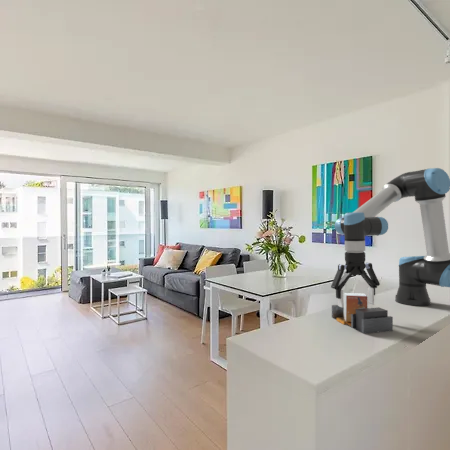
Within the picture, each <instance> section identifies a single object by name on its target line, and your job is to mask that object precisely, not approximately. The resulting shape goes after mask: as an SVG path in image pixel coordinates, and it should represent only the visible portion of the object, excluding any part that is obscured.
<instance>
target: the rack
mask: <svg viewBox="0 0 450 450" xmlns="http://www.w3.org/2000/svg"><path fill="white" fill-rule="evenodd" d="M331 318H332V319H334V320H336V321H337V322H338V323H341V324H342V325H346V326H348V327H349V328H352V329H354V330H355V331H357V332H360V333H361V334H373V333H386V332H393V330H394V325H393V323H394V321H393V319H394V318H393V316H392V315H389V316H385V317H373V318H362V331H360V330H358V329H356V314H351V322H346V321H345V319H344V307H343V308H342V307H339V306H338V304H332V305H331Z"/></svg>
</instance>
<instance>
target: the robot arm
mask: <svg viewBox="0 0 450 450" xmlns="http://www.w3.org/2000/svg"><path fill="white" fill-rule="evenodd" d="M449 191H450V176H449V174H448V173H447V172H446V171H445V170H444V169H443V168H439V167H433V168H431V167H430V168H426V169H425V168H424V169H419V170H414V171H413V170H412V171H408V172H404V173H401V174H400V175H398V176H396V177H394V178H393V179H391V180H390V181H388V182H387V183H386V184H384V185H383V186H382V188H381V190H380V191H379V192H377V194H375V195H373V197H371V198H370V199H369V200H367V201H366V202H364V203H363V204H362V205H360V206H359V207H358V208H356V209H355V210H354V211H352V212H346V213H345V214H344V217H340V218H338V219H336V221H335V223H334V229H335V231H336V232H337V234H339V235H344V251H345V252H344V261H345V264H340V263H339V264H337V270H336V274H335V275H334V278H333V281H332V282H331V285H330V288H331V289H333V290H335V297H336V299H337V305H338V306H339V307H342V308H343V307H344V290H343V288H344V286H345V285H346V284H347V283H348V281H349V279H350V278H351V277H353V276H361V277H362V279H363V280H364V281H365V282H366V283H367V285H368V286H367V304H368V305H369V304H370V305H375V296H376V289H377V288H378V287H379V286H380V285H381V284H380V281H379V279H378V277H377V275H376V273H375V271H374V269H373V268H374V267H373V263H371V262H366V253H365V251H366V237H367V236H368V237H370V236H371V237H373V236H381V235H385V234H386V233H387V232H388V230H389V221H388V220H387V219H386V218H385V217H382V216H378V215H379V214H380V213H382V212H383V211H384V210H386V208H388V207H389V206H391V204H392V203H396V202H398V201H400V200H401V199H404V198H410V197H414V201H415V202H416V203H418V204H419V207H420V208H419V209H420V215H421V223H422V231H423V237H424V243H425V244H424V245H425V250H426V255H416V256H401V257H399V260H398V285H399V286H398V288H397V293H396V294H395V296H394V297H395V302H396V303H399V304H403V305H409V306H419V307H422V306H423V307H425V306H430V305H431V298H430V295H429V293H428V292H429V291H428V290H427V285H432V286H436V287H437V286H438V287H441V288H444V287H445V288H450V249H449V243H448V234H447V228H446V220H445V213H444V206H443V205H444V204H443V201H444V200H445V198H446V194H447V193H448V192H449Z"/></svg>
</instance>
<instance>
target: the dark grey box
mask: <svg viewBox="0 0 450 450" xmlns="http://www.w3.org/2000/svg"><path fill="white" fill-rule="evenodd" d="M388 314H389V313H388V309H385V308H381V307H367V308H365V309H356V329H358V330H360V331H362V318H373V317H385V316H388Z"/></svg>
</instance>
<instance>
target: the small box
mask: <svg viewBox="0 0 450 450" xmlns="http://www.w3.org/2000/svg"><path fill="white" fill-rule="evenodd" d="M343 301H344V319H345V321H346V322H351V314H356V309H365V308H368V295H366V294H365V293H364V292H361V293H360V292H358V293H355V292H343Z"/></svg>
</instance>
